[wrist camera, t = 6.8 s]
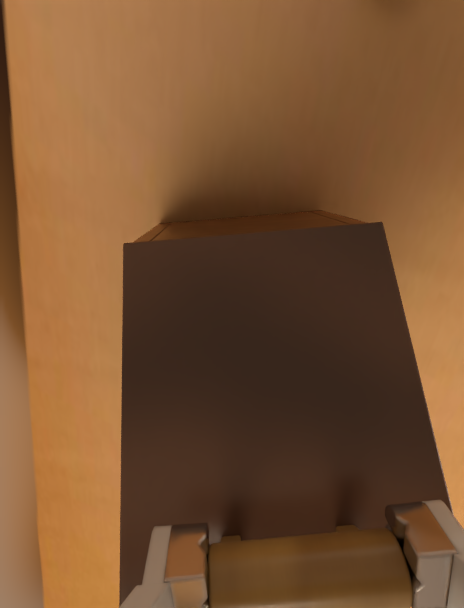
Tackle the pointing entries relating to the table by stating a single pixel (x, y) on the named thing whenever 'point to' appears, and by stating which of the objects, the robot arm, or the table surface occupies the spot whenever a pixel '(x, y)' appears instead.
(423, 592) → the robot arm
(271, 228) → the chest
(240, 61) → the table surface
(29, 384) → the table surface
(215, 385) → the lid
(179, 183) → the table surface
